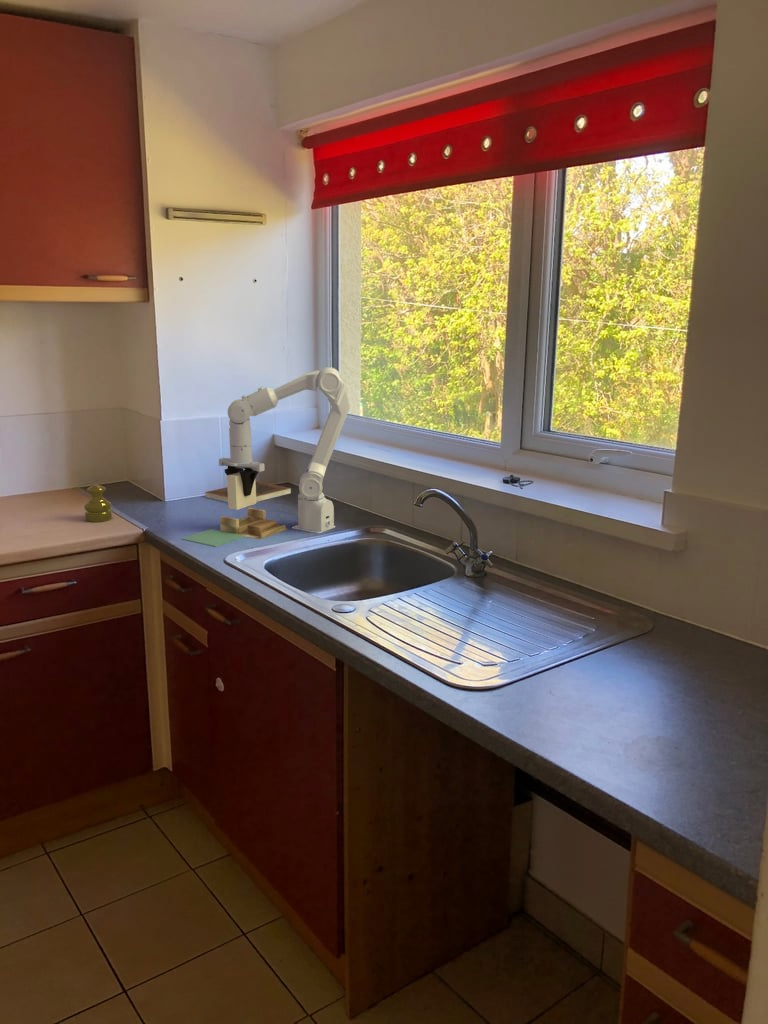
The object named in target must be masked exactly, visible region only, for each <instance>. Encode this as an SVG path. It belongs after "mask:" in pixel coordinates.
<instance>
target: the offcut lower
mask: <svg viewBox="0 0 768 1024" xmlns="http://www.w3.org/2000/svg"><path fill="white" fill-rule="evenodd" d="M277 525H278V526H275V527H273V528H270V529H267V530H264V531H261V532H257V531H252V530H248V534H251V535H256V536H260V533H263V532H265V531H268V530H271V529H274V528H277V527H279V526H281V525H280V524H277Z"/></svg>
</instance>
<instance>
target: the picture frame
mask: <svg viewBox="0 0 768 1024" xmlns="http://www.w3.org/2000/svg"><path fill="white" fill-rule="evenodd" d="M291 489H292V488H290V487H286V486H281V485H276V484H273V483H268V482H263V481H259V482H256V503H257V502H261V501H264V500H269V499H273V498H277V497H281V496H285V495H289V494H291V493H292V492H291V491H292V490H291ZM204 497H205V498H208V499H211V500H215V501H219V502H224V503H227V504H228V489H227V487H222V488H217V489H212V490H209V491H204Z"/></svg>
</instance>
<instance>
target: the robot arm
mask: <svg viewBox="0 0 768 1024" xmlns="http://www.w3.org/2000/svg"><path fill="white" fill-rule="evenodd" d="M318 389H319V390H320V392H321V393H322V394H323V395H324V396H326V398H327V400H328V402H329V404H330V410H329V413H328V415H327V418H326V421H325V424H324V426H323V428H322V431H321V433H320V436H319V439H318V441H317V444H316V445H315V449H314V452H313V454H312V456H311V457H312V458H311V460H310V461H309V464H308V465H307V468H306V469H305V471H304V472H302V473H301V475H300V476H299V485H298V490H299V493H298V494H297V512H298V513H297V516H298V519H297V520H298V522H297V524H296V525H294V526H292V527H291V529H295V530H297V531H298V530H299V531H304V532H309V533H313V534H321V533H324V532H327V531H330V530H332V529H335V528H336V525H335V511H334V510H335V509H334V507H335V506H334V504H333V501H332V500H330V499H327V498H326V497H325V494H324V493H323V480H324V477H325V475H326V474H325V473H326V470H327V468H328V464H329V462H330V460H331V456H332V454H333V452H334V449H335V446H336V444H337V441H338V439H339V436H340V434H341V431H342V429H343V426H344V424H345V421H346V419H347V416H348V413H349V411H350V406H351V405H350V399H349V397H348V392H347V387H346V384H345V379H344V378H343V377H342V375H341V373H340V372H339V371H338V369H336V368H334V367H331V366H330V367H329V366H327V367H324V368H322V369H321V370H319V369H318V370H317V369H316V370H314V371H312V372H311V371H310V372H308V373H306V374H303V375H301V376H299V377H297V378H295V379H293V380H291V381H288V382H286V383H284V384H282V385H280V386H278V387H276V388H271V387H268V386H267V387H264V388H263V386H260V387H258V388H257V390H256V391H254V392H253V393H250V394H248V395H245V394H244V395H242V396H241V399H240V398H239V399H235V400H234V401H232V402H231V403H230V405H229V406H228V408H227V416H228V418H229V421H228V423H229V428H228V431H229V432H228V433H229V435H228V436H229V458H228V457H221V458H218V466H219V467H223V466H225V467H227V468H224V474H226V476H227V475H231V474H235V473H240V476H241V479H242V483H243V493H244V496H249V495H251V491H252V487H253V483H254V480H255V479H256V478H257V476H258V474H259V473H261V472H264V471H265V470H266V469H265V463H262V462H259V461H256V460H253V456H252V455H253V454H252V451H253V450H252V428H251V418H250V417H256V416H258V415H261V414H263V413H265V412H268V411H270V410H272V409H275V408H276V407H277V405H278V403H279V401H280V400H284V399H286V398H288V397H290V396H293V395H296V394H298V393H301V392H303V391H306V390H307V391H312V392H317V390H318Z"/></svg>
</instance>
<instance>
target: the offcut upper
mask: <svg viewBox="0 0 768 1024" xmlns="http://www.w3.org/2000/svg"><path fill="white" fill-rule="evenodd" d="M278 525H279V524H278V520H271V519H267V518H266V519H265V520H262V521H259V522H256V523H253V524H250V525H247V526H248V530H252V531H257V532H261V531H264V530H267V529H270V528H273V527H275V526H278Z"/></svg>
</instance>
